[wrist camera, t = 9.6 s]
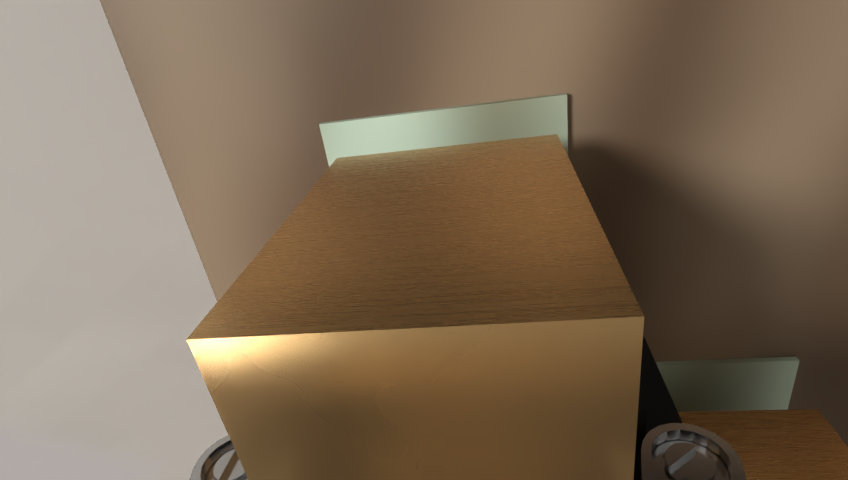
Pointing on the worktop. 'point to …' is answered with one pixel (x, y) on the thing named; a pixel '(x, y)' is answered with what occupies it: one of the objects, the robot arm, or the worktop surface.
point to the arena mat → (579, 134)
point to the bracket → (453, 333)
